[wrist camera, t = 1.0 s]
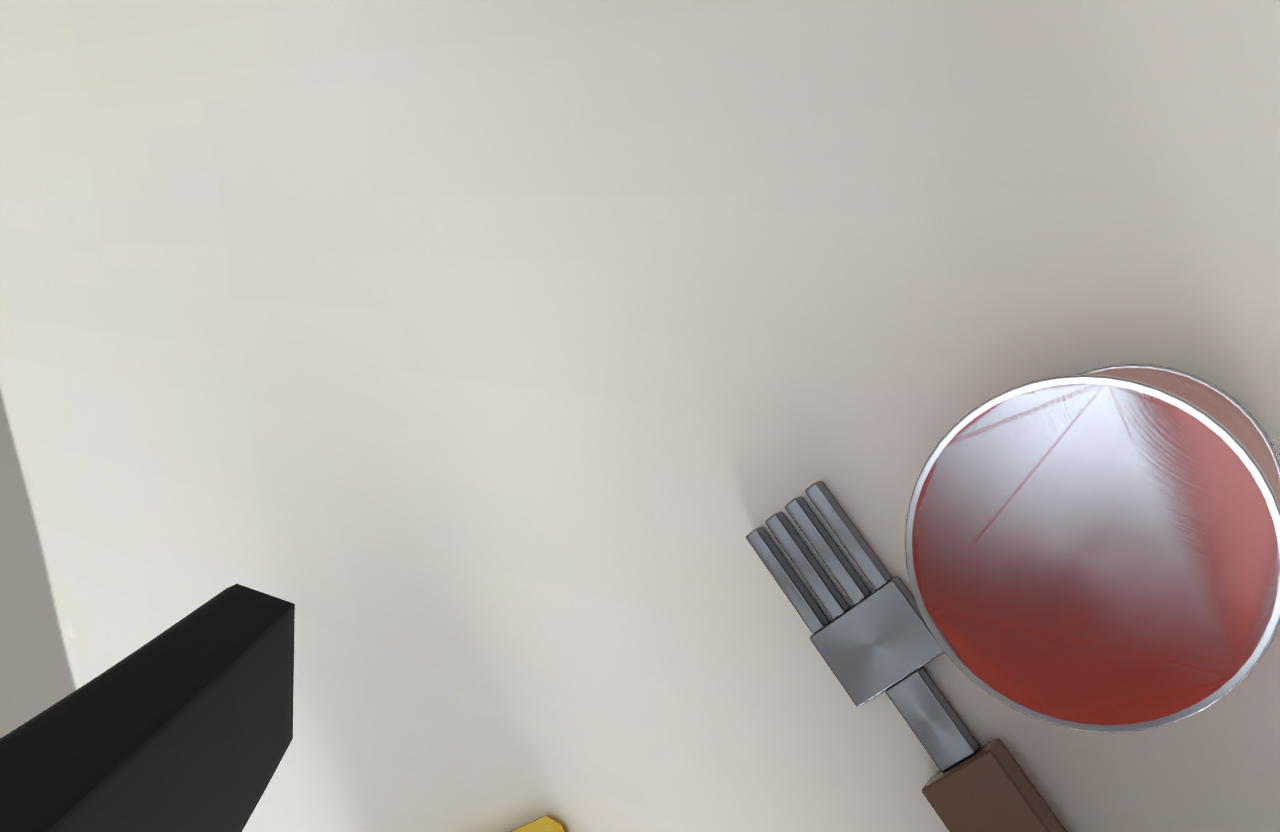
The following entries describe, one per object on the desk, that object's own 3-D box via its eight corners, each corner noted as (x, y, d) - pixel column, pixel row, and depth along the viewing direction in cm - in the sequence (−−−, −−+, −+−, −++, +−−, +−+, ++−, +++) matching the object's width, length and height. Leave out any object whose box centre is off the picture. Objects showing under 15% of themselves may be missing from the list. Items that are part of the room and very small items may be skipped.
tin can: (1352, 532, 20) (1383, 612, 14) (1105, 677, 22) (1047, 796, 16) (1160, 309, 21) (1118, 300, 15) (945, 466, 23) (839, 509, 18)
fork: (1319, 1153, 21) (1321, 1182, 20) (1203, 1192, 22) (1200, 1221, 21) (825, 476, 24) (813, 481, 24) (747, 537, 26) (733, 543, 25)
